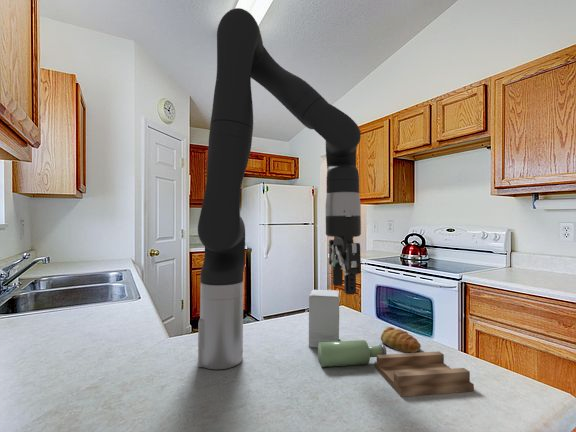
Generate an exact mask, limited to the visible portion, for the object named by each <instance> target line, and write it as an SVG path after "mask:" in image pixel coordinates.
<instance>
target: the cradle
mask: <svg viewBox="0 0 576 432" xmlns="http://www.w3.org/2000/svg"><path fill="white" fill-rule="evenodd" d="M374 369H375V370H376V371H377V372H378V373H379V374H380V375H381V376H382V377H383V379H384V380H385V381H386V382H387V383H388V384H389V385H390V386H391V388H392V389H394V391H395V392H396V393H397V394H398V395H399V396H400V397H402V398H403V397H415V396H429V395H440V394H441V395H442V394H454V393H467V392H474V391H475V384H474V383H472V382H471V379H470V377H471V375H470V374H471V371H469V370H468V369H467V368H465V367H458V368H456V367H455V368H452V367H450V366H449V365H447V364H445V356H444V353H442V352H441V351H424V352H423V351H422V352H414V353H410V352H404V353H390V354H388V353H387V354H386V355H377V357H376V361H374Z"/></svg>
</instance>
